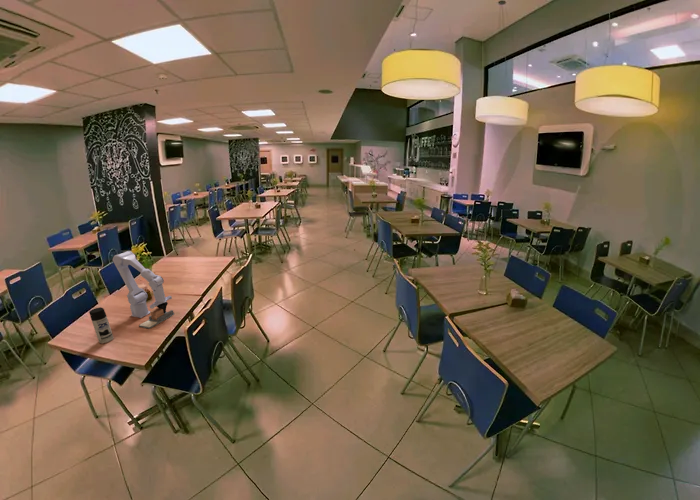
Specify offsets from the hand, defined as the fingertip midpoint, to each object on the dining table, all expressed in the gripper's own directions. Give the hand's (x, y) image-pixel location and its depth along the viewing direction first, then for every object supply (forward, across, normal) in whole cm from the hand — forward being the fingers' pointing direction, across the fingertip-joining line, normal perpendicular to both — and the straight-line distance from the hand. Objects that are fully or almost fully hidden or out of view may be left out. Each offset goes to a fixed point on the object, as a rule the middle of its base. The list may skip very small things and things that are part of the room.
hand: (163, 313), depth 192 cm
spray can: (+3, -30, +9) cm, 32 cm away
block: (+1, -4, 0) cm, 5 cm away
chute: (+2, -5, 0) cm, 6 cm away
